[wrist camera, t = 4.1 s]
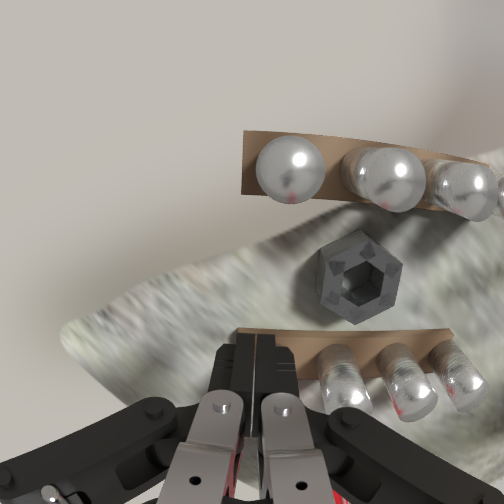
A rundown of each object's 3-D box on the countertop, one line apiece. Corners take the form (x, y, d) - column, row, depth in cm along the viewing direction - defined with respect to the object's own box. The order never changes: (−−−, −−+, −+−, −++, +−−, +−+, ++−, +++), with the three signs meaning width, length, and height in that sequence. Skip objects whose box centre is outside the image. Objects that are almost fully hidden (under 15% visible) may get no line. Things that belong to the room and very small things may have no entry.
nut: (392, 231, 21) (406, 241, 19) (379, 308, 23) (389, 324, 21) (322, 226, 21) (329, 236, 19) (312, 307, 23) (317, 324, 21)
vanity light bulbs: (490, 165, 19) (550, 176, 12) (444, 364, 25) (476, 413, 18) (244, 131, 20) (234, 121, 13) (237, 368, 25) (229, 432, 18)
